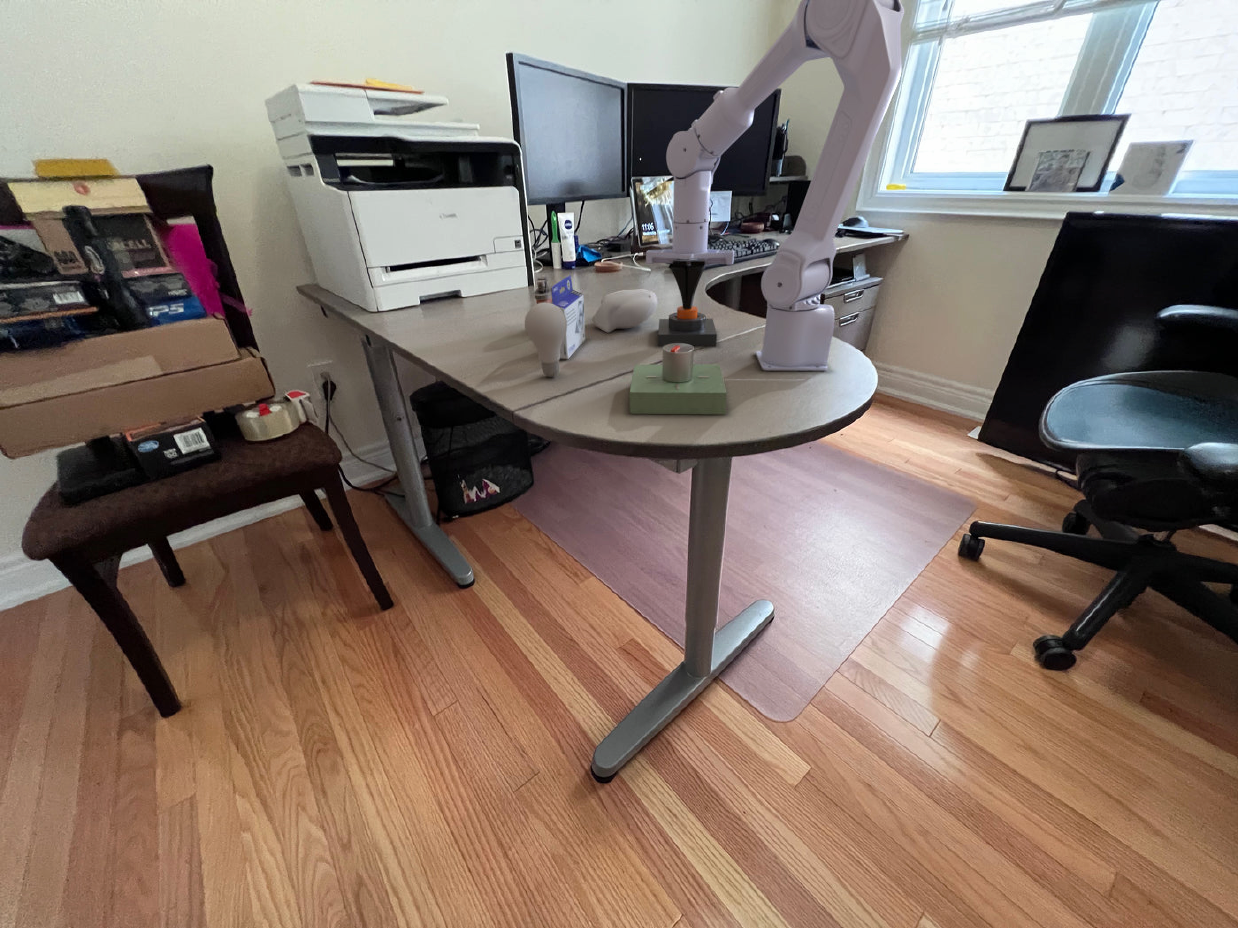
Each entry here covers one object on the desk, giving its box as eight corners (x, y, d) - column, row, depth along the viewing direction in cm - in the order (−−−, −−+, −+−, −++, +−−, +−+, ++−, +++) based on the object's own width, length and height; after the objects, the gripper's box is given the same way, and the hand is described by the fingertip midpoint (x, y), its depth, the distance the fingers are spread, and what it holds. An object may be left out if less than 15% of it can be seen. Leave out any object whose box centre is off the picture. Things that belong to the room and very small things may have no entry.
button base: (712, 330, 93) (713, 308, 91) (716, 346, 85) (717, 323, 83) (659, 330, 94) (659, 309, 92) (658, 347, 86) (658, 324, 84)
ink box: (569, 360, 81) (563, 288, 75) (556, 360, 82) (548, 288, 76) (587, 339, 91) (582, 273, 85) (575, 339, 91) (569, 273, 85)
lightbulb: (578, 372, 76) (573, 299, 71) (558, 386, 72) (550, 310, 66) (545, 367, 79) (537, 296, 73) (523, 380, 74) (513, 306, 68)
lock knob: (668, 370, 67) (669, 339, 65) (696, 374, 66) (698, 342, 64) (657, 380, 64) (657, 348, 62) (686, 384, 63) (687, 352, 60)
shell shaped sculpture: (653, 315, 104) (653, 283, 100) (661, 332, 93) (661, 297, 90) (591, 318, 103) (589, 286, 100) (592, 336, 92) (590, 300, 89)
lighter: (553, 335, 94) (548, 280, 88) (536, 336, 94) (529, 281, 88) (558, 324, 100) (554, 272, 95) (542, 324, 100) (536, 273, 95)
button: (696, 315, 89) (697, 305, 88) (697, 320, 86) (698, 310, 85) (676, 315, 89) (677, 305, 88) (676, 321, 86) (677, 311, 85)
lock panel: (718, 384, 70) (720, 363, 69) (724, 414, 62) (726, 391, 60) (634, 384, 71) (634, 363, 70) (630, 413, 63) (629, 391, 61)
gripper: (641, 225, 78) (642, 311, 85) (734, 224, 74) (727, 314, 81) (651, 220, 84) (651, 302, 91) (737, 219, 80) (731, 304, 87)
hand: (687, 307), depth 86 cm, fingers closed
